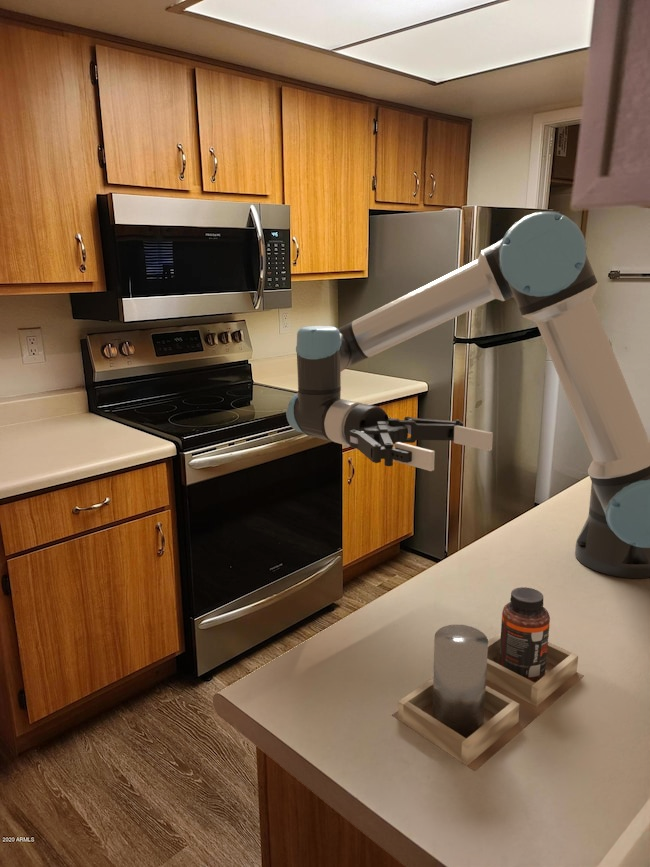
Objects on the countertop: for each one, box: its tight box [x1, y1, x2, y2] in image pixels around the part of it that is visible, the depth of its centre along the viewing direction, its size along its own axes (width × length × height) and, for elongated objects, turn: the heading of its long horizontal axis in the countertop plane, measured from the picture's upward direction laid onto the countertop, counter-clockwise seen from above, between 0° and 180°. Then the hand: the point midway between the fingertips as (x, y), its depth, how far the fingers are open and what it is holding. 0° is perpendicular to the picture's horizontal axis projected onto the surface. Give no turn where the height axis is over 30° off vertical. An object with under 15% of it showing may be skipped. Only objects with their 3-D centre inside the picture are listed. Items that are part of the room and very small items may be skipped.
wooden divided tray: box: [391, 632, 585, 772], centre depth 80 cm, size 24×12×4 cm, turn 132°
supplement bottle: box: [499, 586, 551, 682], centre depth 83 cm, size 6×6×11 cm
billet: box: [432, 624, 489, 738], centre depth 74 cm, size 6×6×11 cm
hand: (463, 451), depth 90 cm, fingers open, 13 cm apart
